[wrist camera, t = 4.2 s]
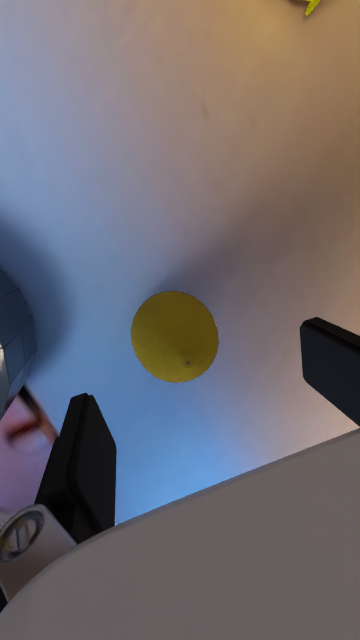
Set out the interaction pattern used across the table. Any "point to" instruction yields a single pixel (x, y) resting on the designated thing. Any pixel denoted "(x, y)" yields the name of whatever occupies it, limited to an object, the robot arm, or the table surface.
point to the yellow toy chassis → (311, 6)
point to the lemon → (174, 336)
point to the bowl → (14, 342)
